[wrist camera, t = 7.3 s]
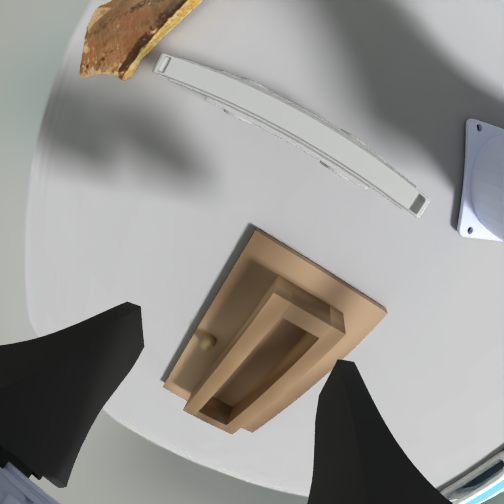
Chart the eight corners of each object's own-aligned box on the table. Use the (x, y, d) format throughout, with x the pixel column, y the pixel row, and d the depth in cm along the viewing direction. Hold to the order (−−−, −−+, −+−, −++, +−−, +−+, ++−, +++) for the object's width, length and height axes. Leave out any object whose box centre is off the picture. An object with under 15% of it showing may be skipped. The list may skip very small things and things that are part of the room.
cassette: (207, 101, 16) (142, 80, 9) (221, 76, 15) (162, 40, 8) (374, 195, 16) (415, 233, 9) (389, 170, 15) (441, 192, 8)
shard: (230, -21, 12) (222, -33, 10) (220, 71, 15) (210, 65, 13) (104, 11, 14) (90, 5, 12) (91, 90, 17) (76, 89, 15)
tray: (386, 308, 19) (394, 333, 16) (253, 428, 27) (248, 449, 24) (257, 227, 18) (247, 243, 16) (165, 383, 27) (153, 402, 24)
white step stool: (548, 431, 21) (555, 450, 15) (467, 493, 33) (469, 510, 27) (520, 432, 22) (528, 457, 16) (420, 500, 34) (422, 521, 28)
